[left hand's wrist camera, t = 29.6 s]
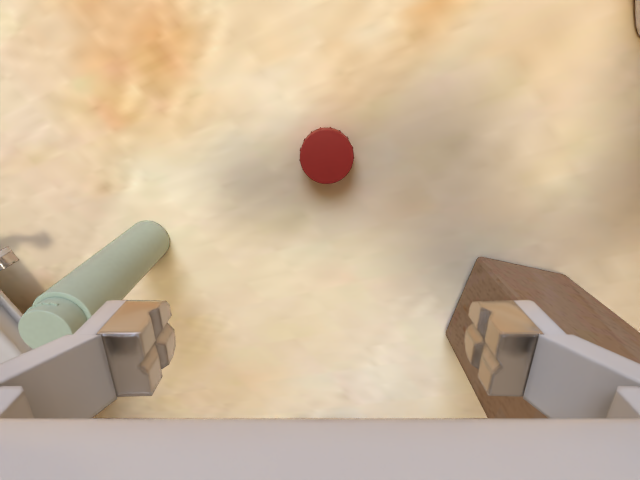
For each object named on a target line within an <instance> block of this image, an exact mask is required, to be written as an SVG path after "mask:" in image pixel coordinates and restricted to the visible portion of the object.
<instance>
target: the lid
mask: <svg viewBox="0 0 640 480" xmlns="http://www.w3.org/2000/svg"><path fill="white" fill-rule="evenodd" d="M300 151H301V152H300V162H301V166H302V168H303V170H304V172H305V173H306V175H307V176H308V177H309V178H311V179H312V180H314V181H316V182H318V183H323V184H330V183H335V182H337V181H339V180H341V179H343V178H344V177H345V176H346V175H347V174H348V172H349V171H350V169H351V167H352V164H353V159H354V155H353V147H352V145H351V144H350V142H349V140H348V137H346V136H345V135H344V134H343V133H341V131H340V130H339V131H338V130H336V129H333V128H331V127H330V128H321V127H320V129H317V130H315V131H313V132H311V133H310V134H309V135H308V136H307V138H306V139H304V142H303V145H302V148H300Z"/></svg>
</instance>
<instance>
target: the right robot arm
mask: <svg viewBox="0 0 640 480" xmlns="http://www.w3.org/2000/svg"><path fill="white" fill-rule="evenodd" d="M18 260H19V259H18V258H17V257H16V255H15V254H14V253H13V252H12V251H11V249H10V248H9V247H6V248H4V249H2V250H0V270H2V269H4V268H6V267H8V266H10V265H12V264H13V263H15V262H17V261H18ZM22 316H23V314H22V313H21V312H20V311H19V309H18V308H17V307H16V306H15V305H14V304H13V303H12V302H11V301H10V300H9V298H8V297H7V296H6V295H5V294H4V293H3V292H2V291H1V290H0V364H1V363H3V362H5V361H8V360H10V359H12V358H14V357H17V356H19V355H21V354H24V353H26V352H28V351H30V350H33V349H32V348H31V347H29V346H28V345H27V344H26V343H25V342H24V341H23V339H22V338H21V336H20V334H19V330H18V324H19V321H20V319H21V317H22Z"/></svg>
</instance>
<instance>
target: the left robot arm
mask: <svg viewBox="0 0 640 480" xmlns="http://www.w3.org/2000/svg"><path fill="white" fill-rule="evenodd" d="M635 18H636V27H637V31H638V34H639V36H640V0H635ZM171 316H172V314H171V309H170V305H169V303H168V302H167V301H145V300H110V301H106V302H105V303H104V304H103V305H102V306H101V307H100V308H99V309H98V310H97V311H96V312H95V313H94V314H93V315H92V316H91V317H90V318H89V319H88V320H87V321H86V322H85V323H84V324H83V325H82V326H81V327H80V328H79V329H78V330H77V331H76V332H75V333H74V334H73V335H65V336H62V337H60V338H58V339H56V340H53V341H51V342H49V343H46V344H44V345H42V346H40V347H37V348H35V349H33V350H30V351H28V352H26V353H24V354H21V355H19V356H17V357H14V358H12V359H10V360H8V361H5V362H3V363H1V364H0V480H640V364H639V363H637V362H635V361H632V360H630V359H628V358H625V357H623V356H621V355H619V354H616V353H614V352H612V351H609V350H607V349H605V348H603V347H600V346H598V345H596V344H593V343H591V342H589V341H587V340H584V339H582V338H580V337H578V336H575V335H567V334H566V333H565V332H564V331H563V330H562V329H561V328H560V327H559V326H558V325H557V324H556V323H555V322H554V321H553V320H552V319H551V318H550V317H549V316H548V315H547V314H546V313H545V312H544V311H543V310H542V309H541V308H540V307H539V306H538V305H537V304H536V303H535V302H534V301H531V300H508V301H474V302H472V303H471V305H470V308H469V314H468V316H469V317H470V319H471V320H472V322H473V323H472V324H471V325H470V326H469V327H468V328H467V329H466V332H465V340H464V341H465V351H466V354H467V358H468V360H469V361H470V363H471V365H473V366H474V367H476V368H477V369H479V372H478V378H479V380H480V382H481V384H482V385H483V387H484V389H485V391H486V393H487V394H488V396H515V397H523V399H524V400H526V401H527V402H528V403H530V404H531V405H532V406H533V407H535V408H536V409H537V410H539V411H540V412H541V413H542V414H544V415H545V416H546V417H548V418H93V417H94V416H95V415H96V414H98V413H99V412H100V411H102V410H103V409H104V408H105V407H107V406H108V405H109V404H111V403H112V402H113V401H114V400H116V399H117V397H125V396H152V394H153V393H154V391H155V389H156V387H157V385H158V384H159V382H160V380H161V378H162V372H161V369H163V368H164V367H166V366H167V365H169V363H170V361H171V359H172V357H173V354H174V350H175V332H174V329H173V328H172V327H171V326H170V325H169V324H168V323H167V322H168V320H169V319H170V317H171Z"/></svg>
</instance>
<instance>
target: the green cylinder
mask: <svg viewBox="0 0 640 480" xmlns="http://www.w3.org/2000/svg"><path fill="white" fill-rule="evenodd" d="M169 245H170V240H169V236H168V234H167V232H166V230H165V229H164V228H163V227H162V226H160V225H159V224H157V223H155V222H152V221H141V222H138V223H136V224H135V225H133V226H132V227H131V228H129V229H128V230H127V231H125V232H124V233H123V234H121V235H120V236H119V237H117V238H116V239H115V240H113V241H112V242H111V243H109V244H108V245H107V246H105V247H104V248H103V249H101V250H100V251H99V252H97V253H96V254H95V255H93V256H92V257H91V258H89V259H88V260H87V261H85V262H84V263H83V264H81V265H80V266H79V267H77V268H76V269H75V270H73V271H72V272H71V273H69V274H68V275H67V276H65V277H64V278H62V279H61V280H60V281H58V282H57V283H56V284H54V285H53V286H52V287H50V288H49V289H48V290H46V291H45V292H44V293H42V294H41V295H40V296H38V297H37V298H36V299H35V301H34V302H33V305H32V307H30V308H29V309H28V310H27V311H26V312H25V313H24V314H23V316H22V317H21V319H20V321H19V324H18V330H19V334H20V336H21V338H22V339H23V341H24V342H25V343H26V344H27V345H28V346H29V347H31V348H32V349H35V348H37V347H40V346H42V345H44V344H46V343H49V342H51V341H53V340H56V339H58V338H60V337H62V336H65V335H73V334H74V333H75V332H76V331H77V330H78V329H79V328H80V327H81V326H82V325H83V324H84V323H85V322H86V321H87V320H88V319H89V318H90V317H91V316H92V315H93V314H94V313H95V312H96V311H97V310H98V309H99V308H100V307H101V306H102V305H103V304H104V303H105V302H106V301H110V300H122V299H123V298H124V297H125V296H126V295H127V294H128V293H129V292H130V291H131V289H132V288H133V287H134V286H135V285H136V284H137V283H138V282H139V281H140V280H141V279H142V278H143V277H144V275H145V274H146V273H147V272H148V271H149V270H150V269H151V268H152V267H153V266H154V265H155V264H156V263H157V261H158V260H159V259H160V258H161V257H162V256H163V255H164V254H165V253H166V252H167V250H168V248H169Z"/></svg>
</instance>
